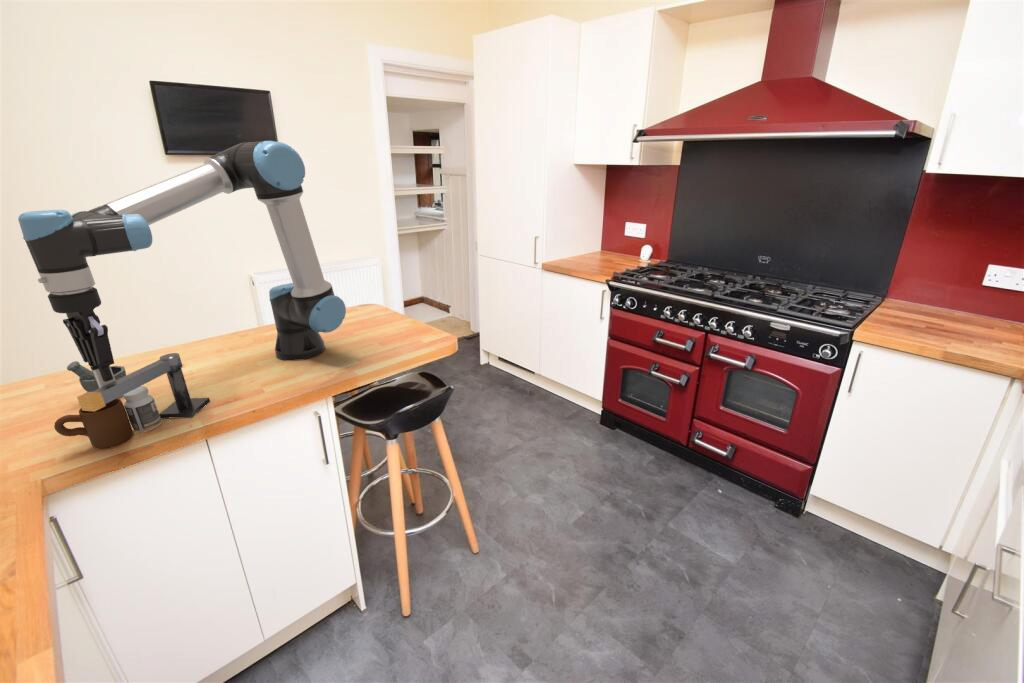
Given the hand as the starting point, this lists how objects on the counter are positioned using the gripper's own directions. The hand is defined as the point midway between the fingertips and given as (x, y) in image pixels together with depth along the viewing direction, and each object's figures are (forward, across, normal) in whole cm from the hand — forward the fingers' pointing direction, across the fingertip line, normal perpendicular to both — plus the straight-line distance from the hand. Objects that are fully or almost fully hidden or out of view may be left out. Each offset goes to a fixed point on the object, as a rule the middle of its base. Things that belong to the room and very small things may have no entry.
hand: (110, 392), depth 103 cm
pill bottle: (+13, -2, +5) cm, 14 cm away
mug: (+13, -3, -4) cm, 14 cm away
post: (+13, -2, +14) cm, 19 cm away
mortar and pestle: (+13, -29, +9) cm, 33 cm away
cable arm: (0, +1, +5) cm, 5 cm away
